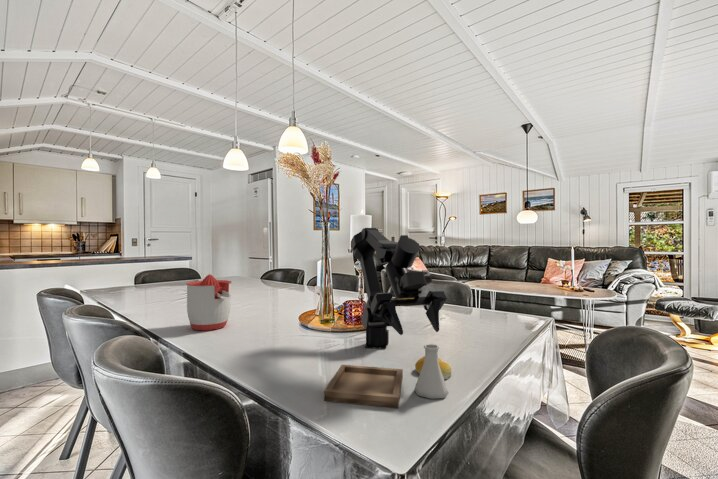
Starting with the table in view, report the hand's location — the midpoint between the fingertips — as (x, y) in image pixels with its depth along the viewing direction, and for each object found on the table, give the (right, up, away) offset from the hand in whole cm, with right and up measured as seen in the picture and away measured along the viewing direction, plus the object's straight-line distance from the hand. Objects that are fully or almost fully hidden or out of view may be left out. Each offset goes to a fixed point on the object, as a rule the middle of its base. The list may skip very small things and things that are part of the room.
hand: (420, 332), depth 77 cm
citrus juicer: (-70, -12, +48) cm, 86 cm away
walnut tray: (-13, -11, -3) cm, 17 cm away
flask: (+1, -12, -5) cm, 13 cm away
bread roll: (+4, -12, +6) cm, 14 cm away
